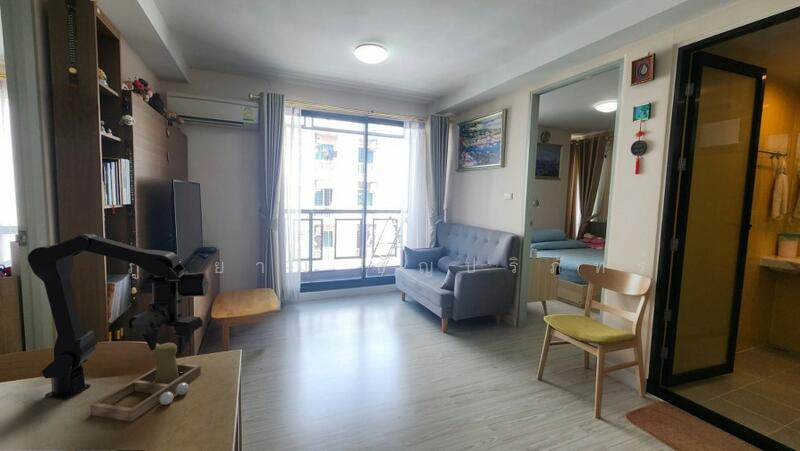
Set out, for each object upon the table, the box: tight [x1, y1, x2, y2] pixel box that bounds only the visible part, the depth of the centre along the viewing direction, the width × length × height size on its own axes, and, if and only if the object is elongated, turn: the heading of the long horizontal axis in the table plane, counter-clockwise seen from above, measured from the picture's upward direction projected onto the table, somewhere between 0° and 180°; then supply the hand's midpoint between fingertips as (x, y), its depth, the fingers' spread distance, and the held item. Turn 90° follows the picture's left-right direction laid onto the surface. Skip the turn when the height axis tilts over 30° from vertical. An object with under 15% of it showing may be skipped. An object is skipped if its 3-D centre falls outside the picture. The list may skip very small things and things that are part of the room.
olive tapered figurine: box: [154, 342, 180, 384], centre depth 97 cm, size 6×6×11 cm
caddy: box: [90, 362, 202, 422], centre depth 92 cm, size 12×22×2 cm, turn 171°
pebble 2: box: [175, 383, 189, 396], centre depth 92 cm, size 3×3×3 cm
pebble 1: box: [159, 392, 175, 406], centre depth 87 cm, size 3×3×3 cm
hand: (167, 351), depth 97 cm, fingers open, 9 cm apart
